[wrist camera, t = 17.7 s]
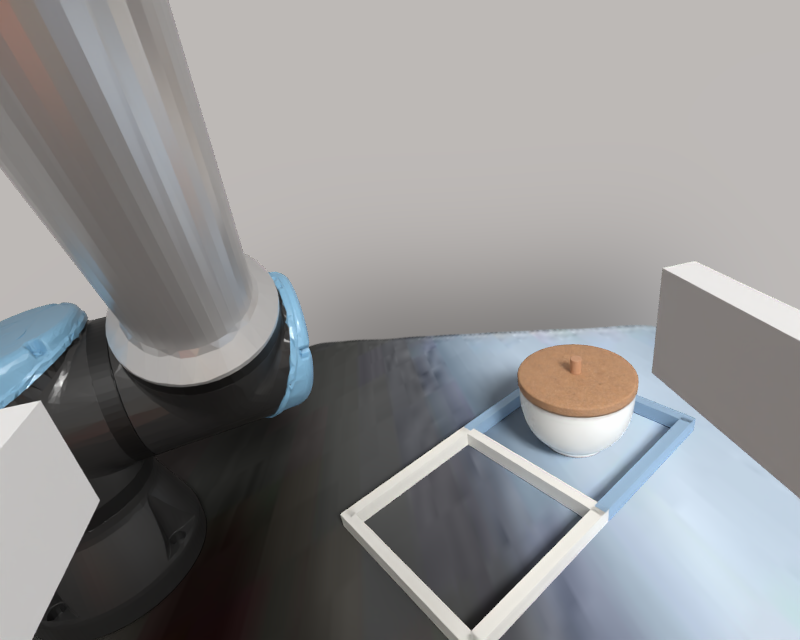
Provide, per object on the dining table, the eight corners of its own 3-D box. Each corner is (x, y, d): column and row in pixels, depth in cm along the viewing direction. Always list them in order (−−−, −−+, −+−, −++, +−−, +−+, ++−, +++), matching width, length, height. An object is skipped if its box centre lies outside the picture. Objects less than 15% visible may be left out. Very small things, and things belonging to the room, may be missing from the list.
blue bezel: (464, 437, 52) (463, 426, 52) (554, 372, 60) (554, 362, 60) (604, 525, 41) (605, 512, 40) (693, 430, 48) (695, 418, 48)
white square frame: (343, 525, 45) (340, 514, 44) (468, 435, 53) (466, 424, 52) (473, 666, 33) (471, 653, 32) (608, 521, 41) (608, 509, 40)
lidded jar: (564, 492, 44) (564, 408, 40) (500, 424, 53) (495, 350, 49) (658, 449, 47) (668, 367, 43) (582, 392, 56) (584, 319, 52)
